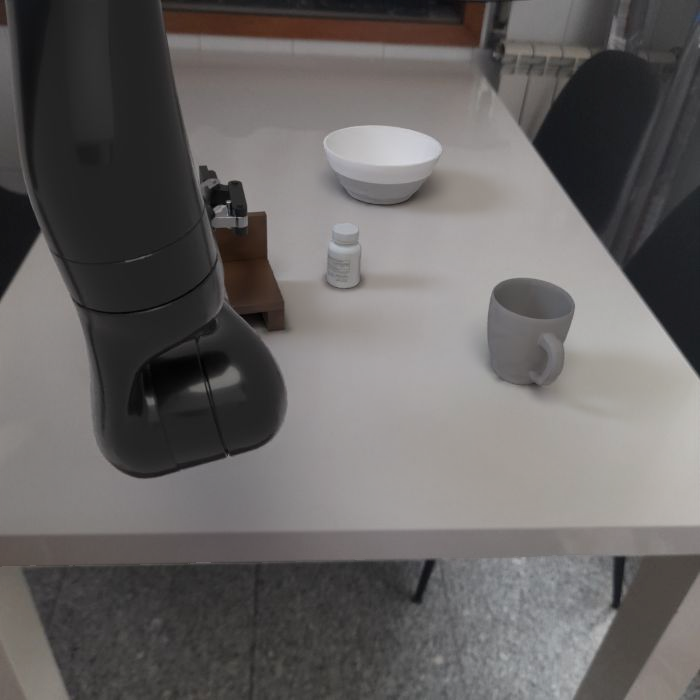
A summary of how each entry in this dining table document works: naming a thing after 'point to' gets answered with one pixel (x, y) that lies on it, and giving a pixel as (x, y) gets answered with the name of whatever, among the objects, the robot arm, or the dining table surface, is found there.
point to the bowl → (381, 161)
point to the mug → (528, 330)
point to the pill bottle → (344, 256)
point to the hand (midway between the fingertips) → (155, 177)
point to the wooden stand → (251, 272)
